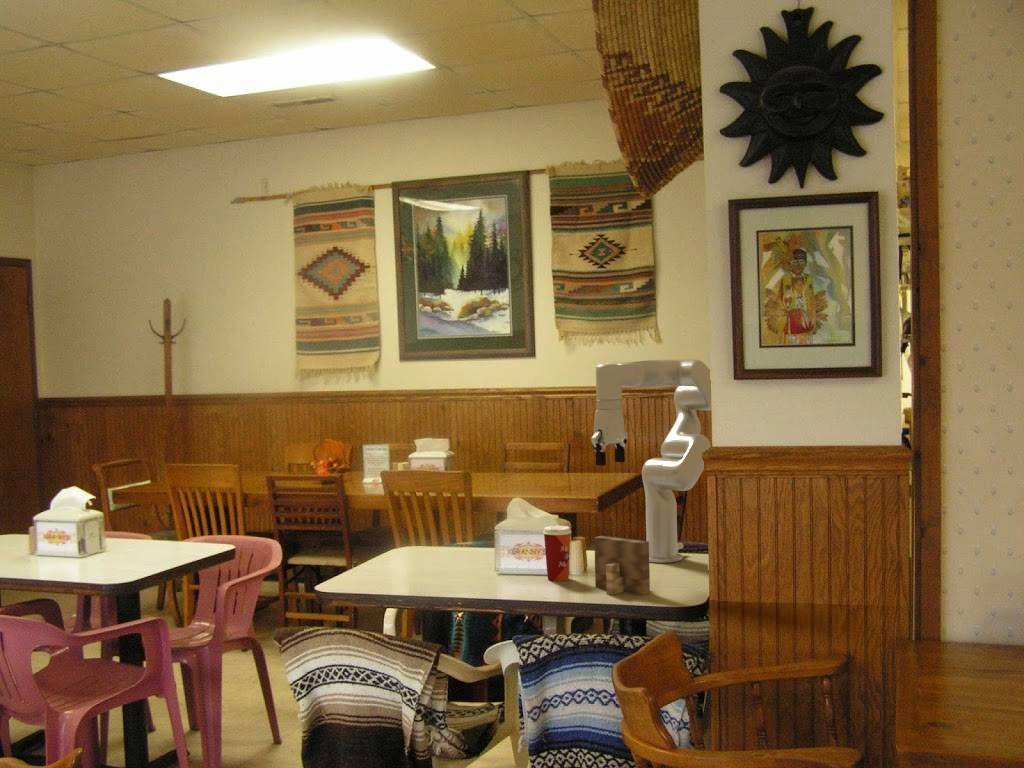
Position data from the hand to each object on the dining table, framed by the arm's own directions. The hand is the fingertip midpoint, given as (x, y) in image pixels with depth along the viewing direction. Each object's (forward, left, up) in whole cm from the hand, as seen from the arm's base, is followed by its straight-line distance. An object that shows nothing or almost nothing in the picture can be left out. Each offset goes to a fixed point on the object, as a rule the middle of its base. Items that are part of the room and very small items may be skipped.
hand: (610, 463), depth 311 cm
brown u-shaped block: (+17, +15, -32) cm, 39 cm away
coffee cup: (+16, -8, -32) cm, 37 cm away
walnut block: (+17, +15, -32) cm, 39 cm away
